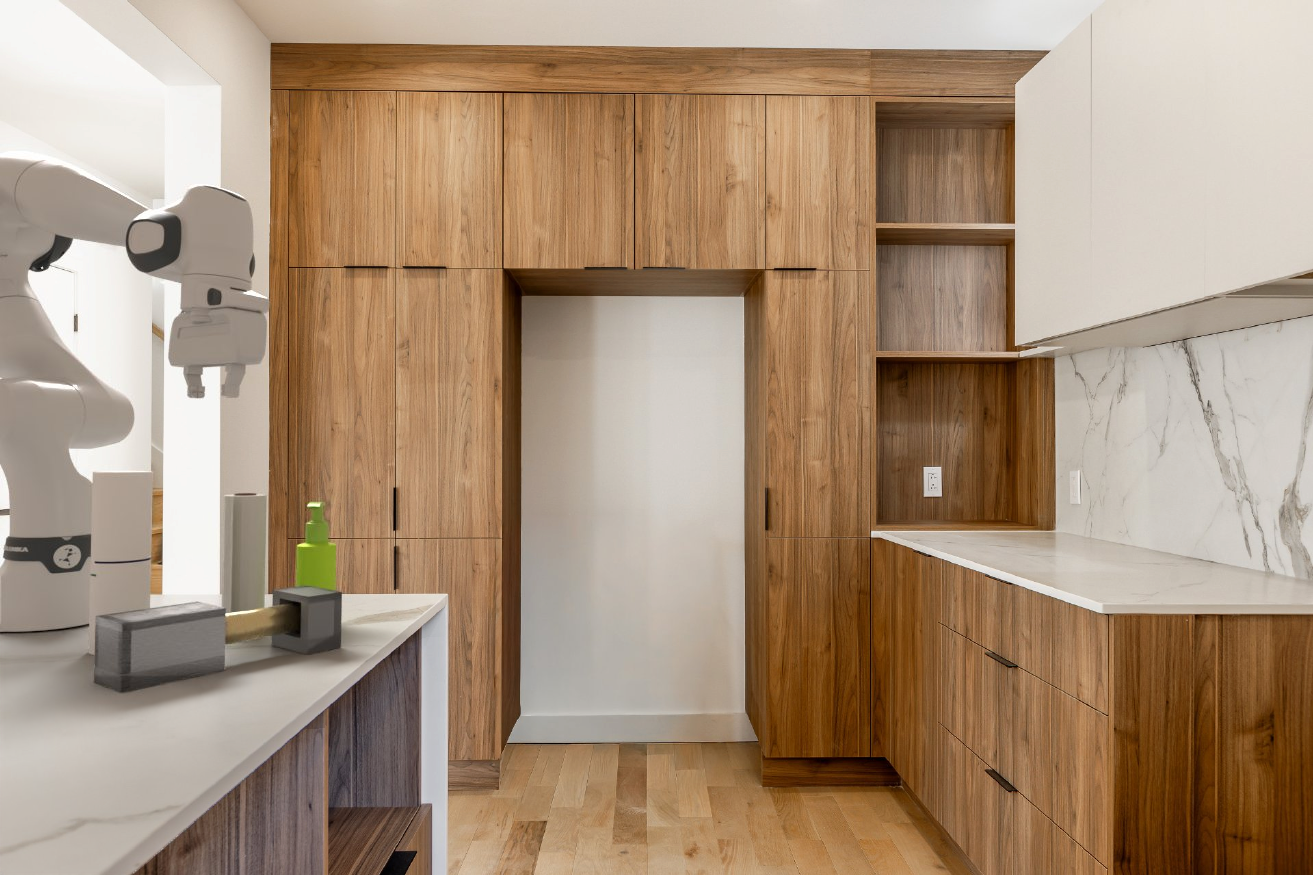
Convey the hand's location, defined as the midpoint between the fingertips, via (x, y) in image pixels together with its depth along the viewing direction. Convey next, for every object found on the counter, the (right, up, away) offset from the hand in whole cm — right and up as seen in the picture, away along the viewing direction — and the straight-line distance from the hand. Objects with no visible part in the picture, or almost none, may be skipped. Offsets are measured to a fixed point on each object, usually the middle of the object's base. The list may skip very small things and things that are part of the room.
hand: (212, 397), depth 116 cm
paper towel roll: (-2, -36, +11) cm, 38 cm away
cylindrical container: (-12, -36, -1) cm, 38 cm away
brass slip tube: (+8, -33, -5) cm, 35 cm away
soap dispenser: (+8, -36, +15) cm, 40 cm away
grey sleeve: (+2, -35, -15) cm, 38 cm away
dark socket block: (+13, -36, +2) cm, 38 cm away
